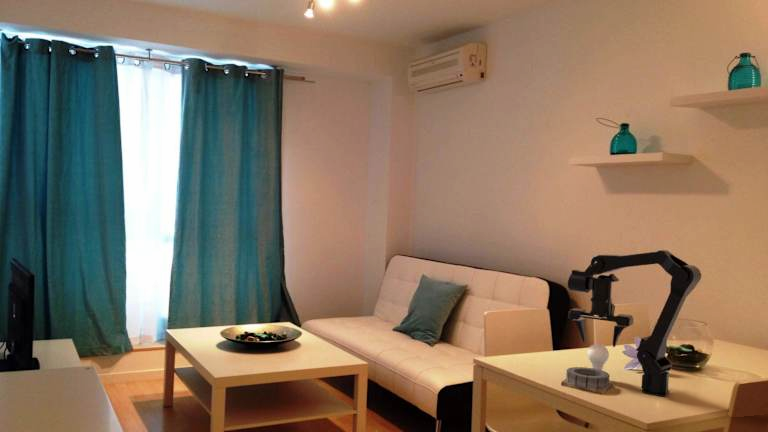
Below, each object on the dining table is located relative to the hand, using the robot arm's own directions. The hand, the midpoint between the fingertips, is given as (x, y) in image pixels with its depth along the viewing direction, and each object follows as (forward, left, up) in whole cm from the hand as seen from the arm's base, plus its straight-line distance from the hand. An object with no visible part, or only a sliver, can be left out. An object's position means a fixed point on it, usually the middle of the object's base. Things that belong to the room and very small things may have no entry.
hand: (599, 344), depth 207 cm
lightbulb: (0, 0, -11) cm, 11 cm away
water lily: (-8, -22, -11) cm, 26 cm away
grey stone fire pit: (0, +10, -11) cm, 15 cm away
